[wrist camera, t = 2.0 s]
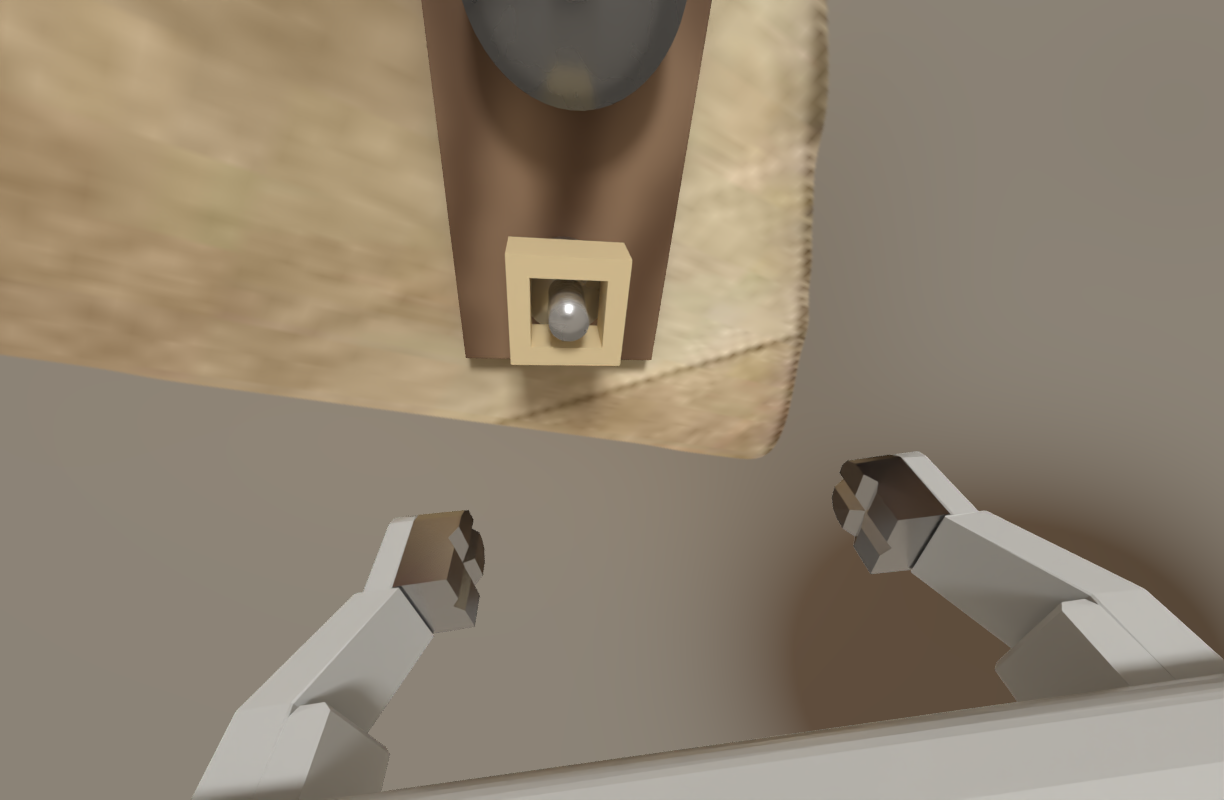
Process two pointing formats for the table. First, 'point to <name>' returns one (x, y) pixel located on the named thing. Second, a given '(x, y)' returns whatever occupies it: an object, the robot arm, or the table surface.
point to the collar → (571, 264)
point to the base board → (557, 172)
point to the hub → (576, 45)
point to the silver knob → (565, 304)
